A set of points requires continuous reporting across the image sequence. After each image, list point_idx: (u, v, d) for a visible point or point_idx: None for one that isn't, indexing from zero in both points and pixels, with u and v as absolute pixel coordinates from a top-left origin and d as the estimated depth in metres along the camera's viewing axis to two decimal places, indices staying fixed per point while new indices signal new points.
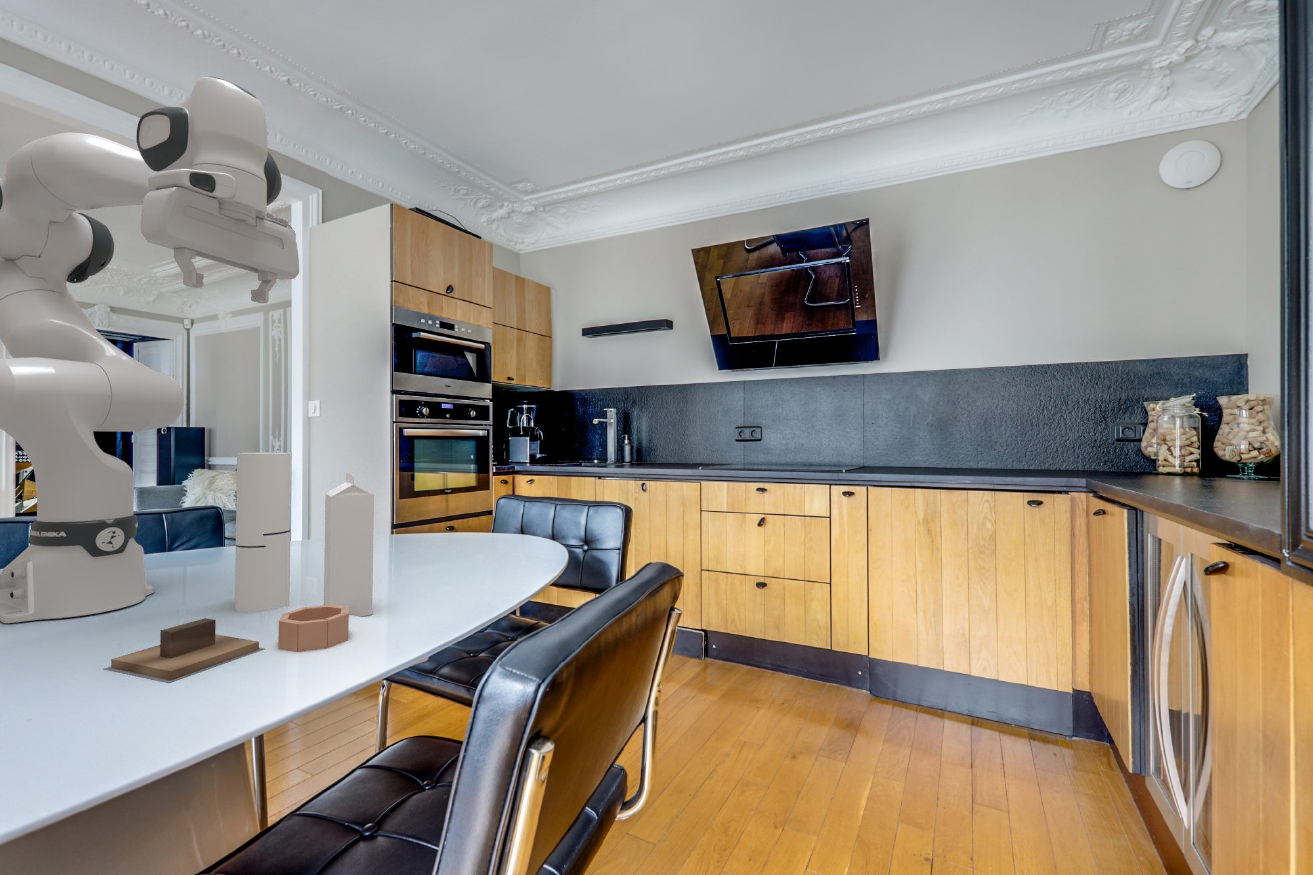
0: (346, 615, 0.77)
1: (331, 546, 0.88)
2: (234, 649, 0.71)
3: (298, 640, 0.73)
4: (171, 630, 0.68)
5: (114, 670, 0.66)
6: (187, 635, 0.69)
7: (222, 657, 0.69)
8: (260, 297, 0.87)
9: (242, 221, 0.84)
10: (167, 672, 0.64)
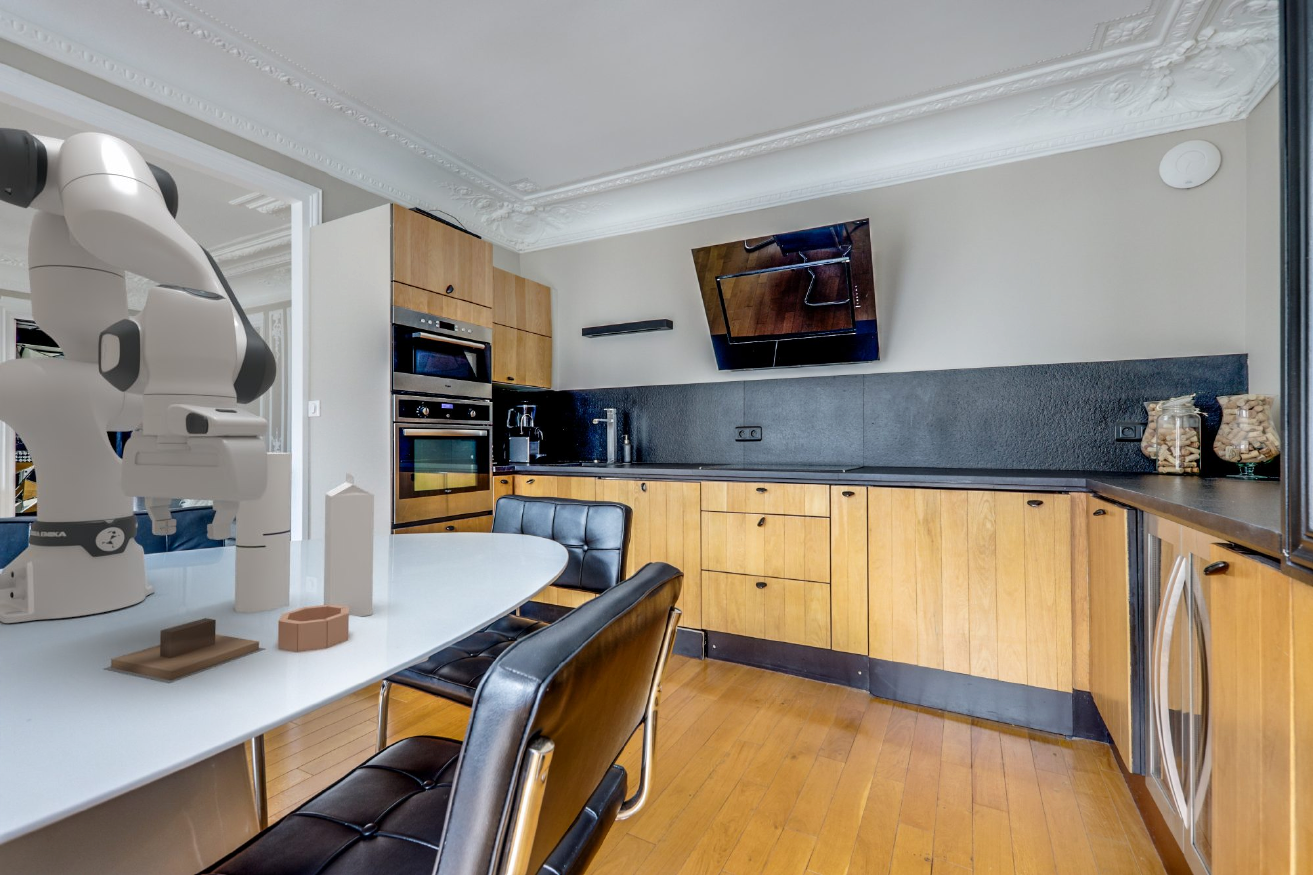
0: (346, 615, 0.77)
1: (331, 546, 0.88)
2: (234, 649, 0.71)
3: (298, 640, 0.73)
4: (171, 630, 0.68)
5: (114, 670, 0.66)
6: (187, 635, 0.69)
7: (222, 657, 0.69)
8: (175, 529, 0.72)
9: None
10: (167, 672, 0.64)
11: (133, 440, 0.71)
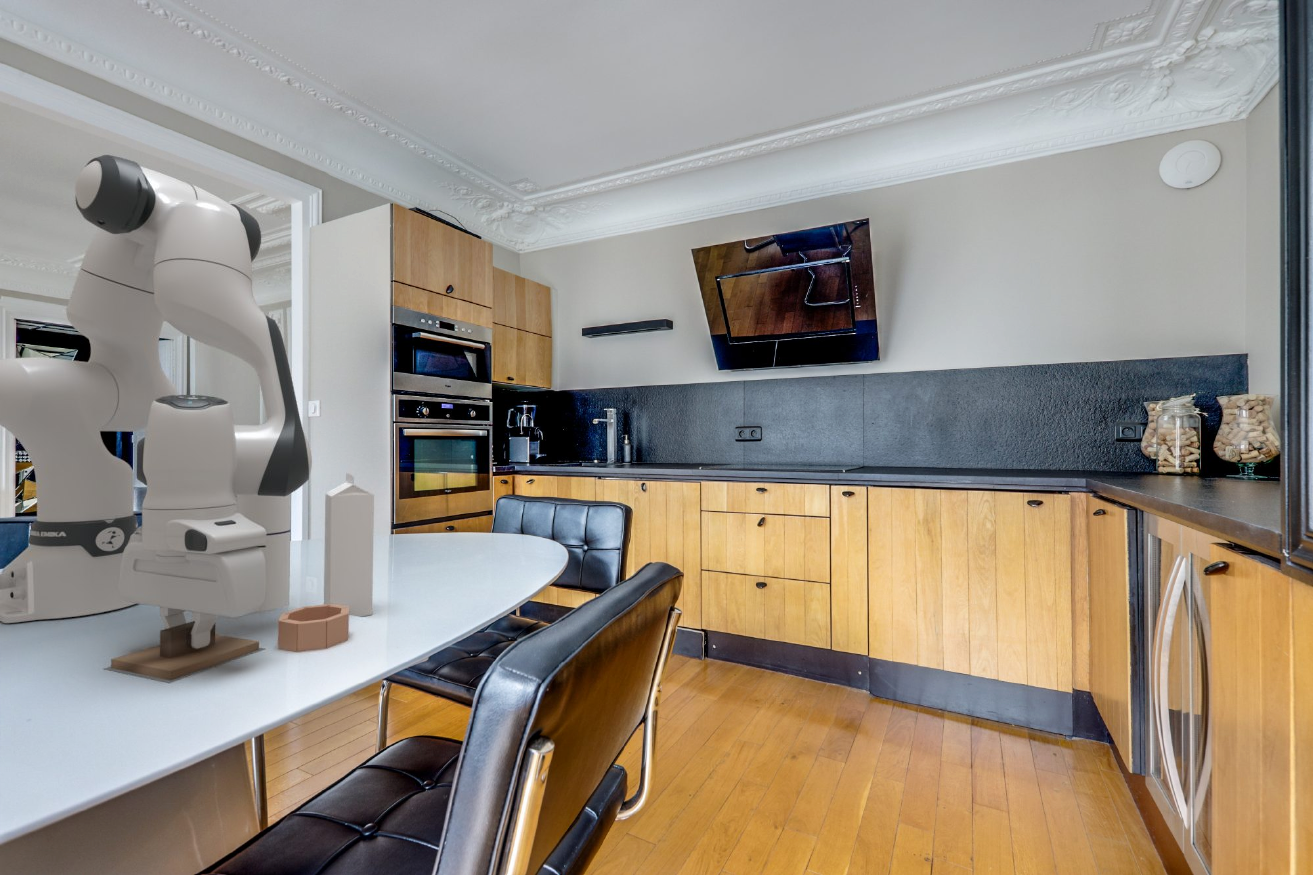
0: (346, 615, 0.77)
1: (331, 546, 0.88)
2: (234, 649, 0.71)
3: (297, 640, 0.73)
4: (171, 630, 0.68)
5: (114, 670, 0.66)
6: None
7: (222, 657, 0.69)
8: None
9: None
10: (167, 672, 0.64)
11: (132, 546, 0.71)
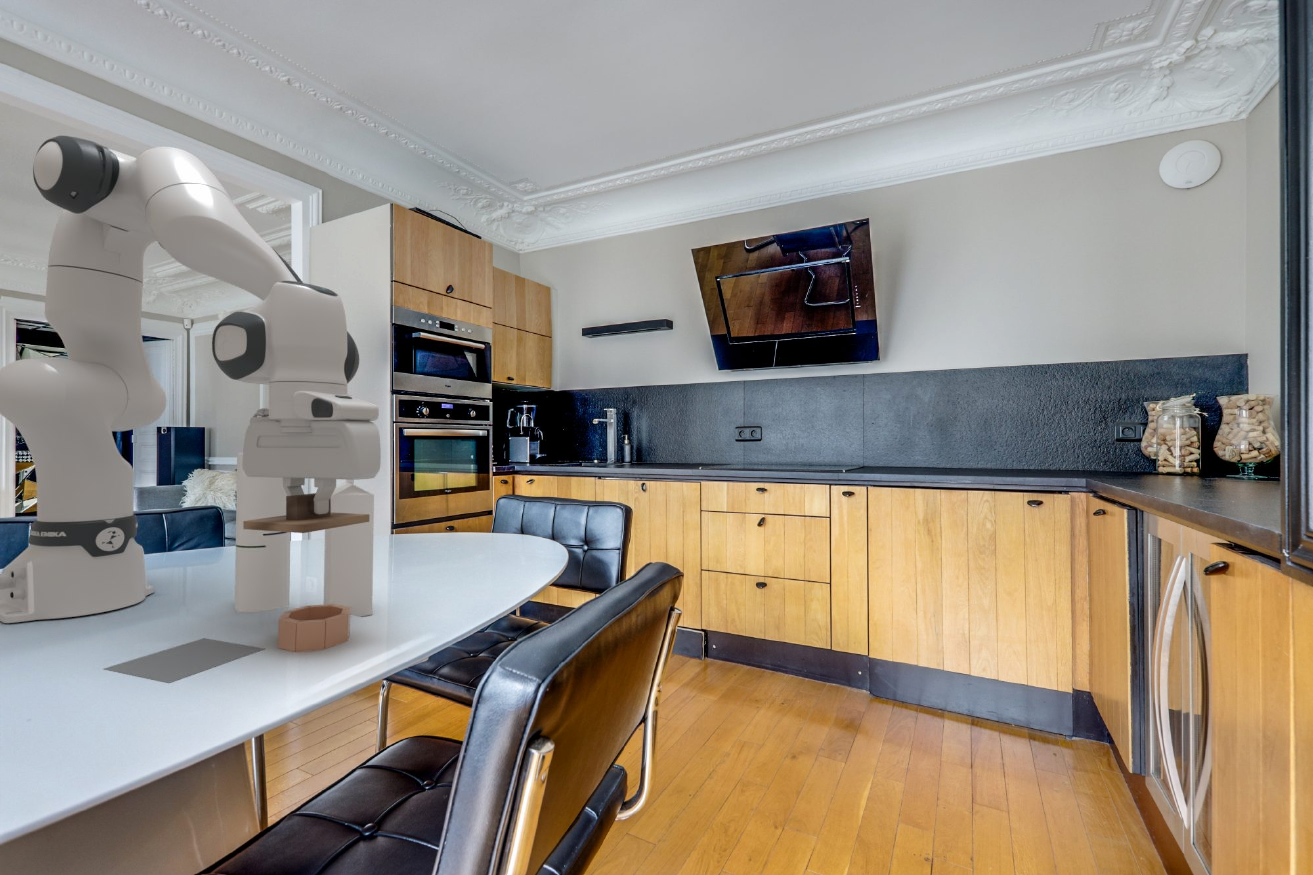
0: (346, 616, 0.77)
1: (331, 546, 0.88)
2: (351, 517, 0.77)
3: (296, 639, 0.73)
4: (296, 496, 0.74)
5: (114, 670, 0.66)
6: None
7: (341, 522, 0.75)
8: None
9: None
10: (299, 526, 0.70)
11: (255, 425, 0.77)
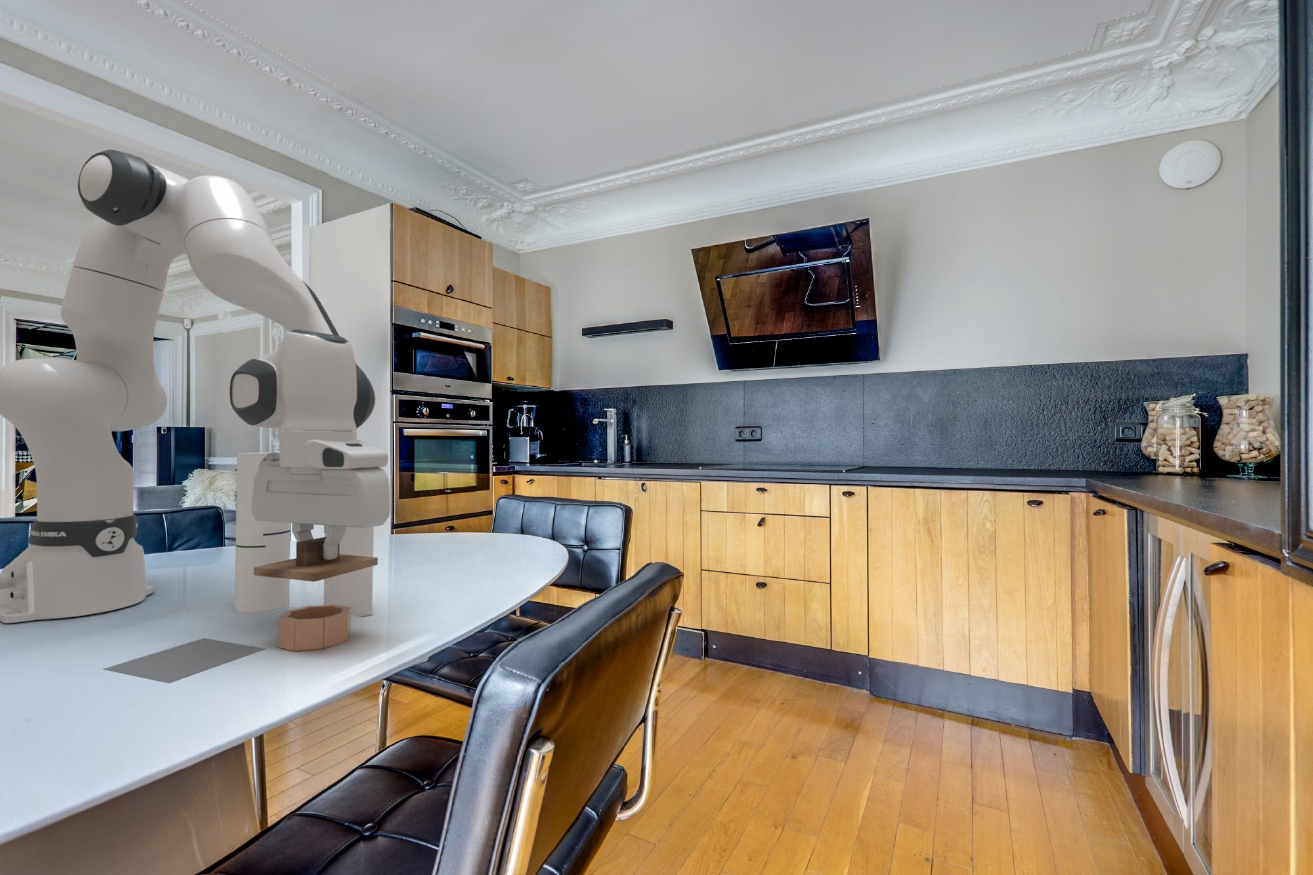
0: (345, 615, 0.77)
1: None
2: (359, 561, 0.78)
3: (295, 638, 0.73)
4: (306, 542, 0.75)
5: (114, 670, 0.66)
6: None
7: (351, 567, 0.76)
8: None
9: None
10: (310, 574, 0.71)
11: (265, 470, 0.78)
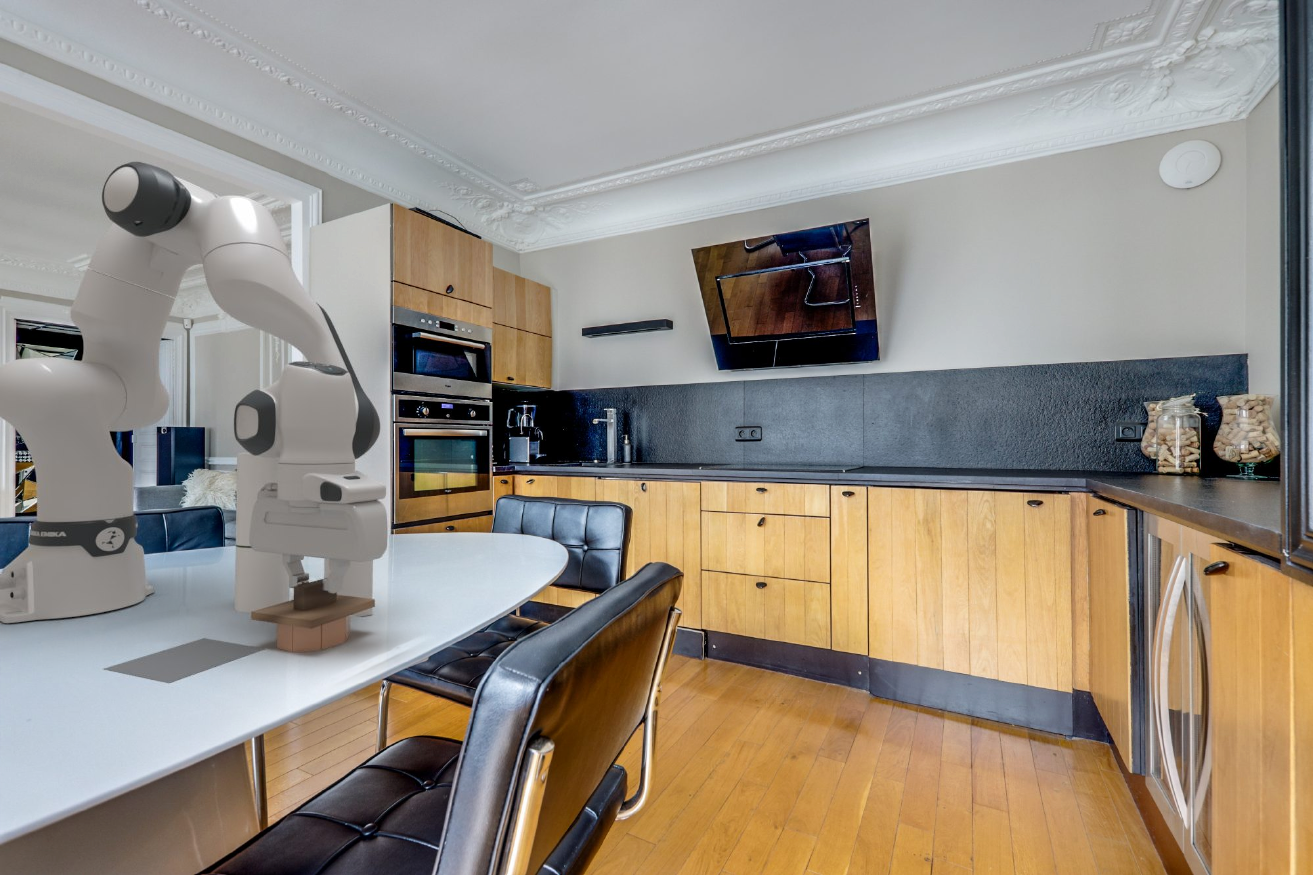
0: None
1: None
2: (357, 605, 0.78)
3: (293, 640, 0.73)
4: (303, 586, 0.75)
5: (114, 670, 0.66)
6: (316, 591, 0.76)
7: (348, 611, 0.76)
8: (308, 582, 0.79)
9: None
10: (307, 621, 0.71)
11: (263, 501, 0.78)
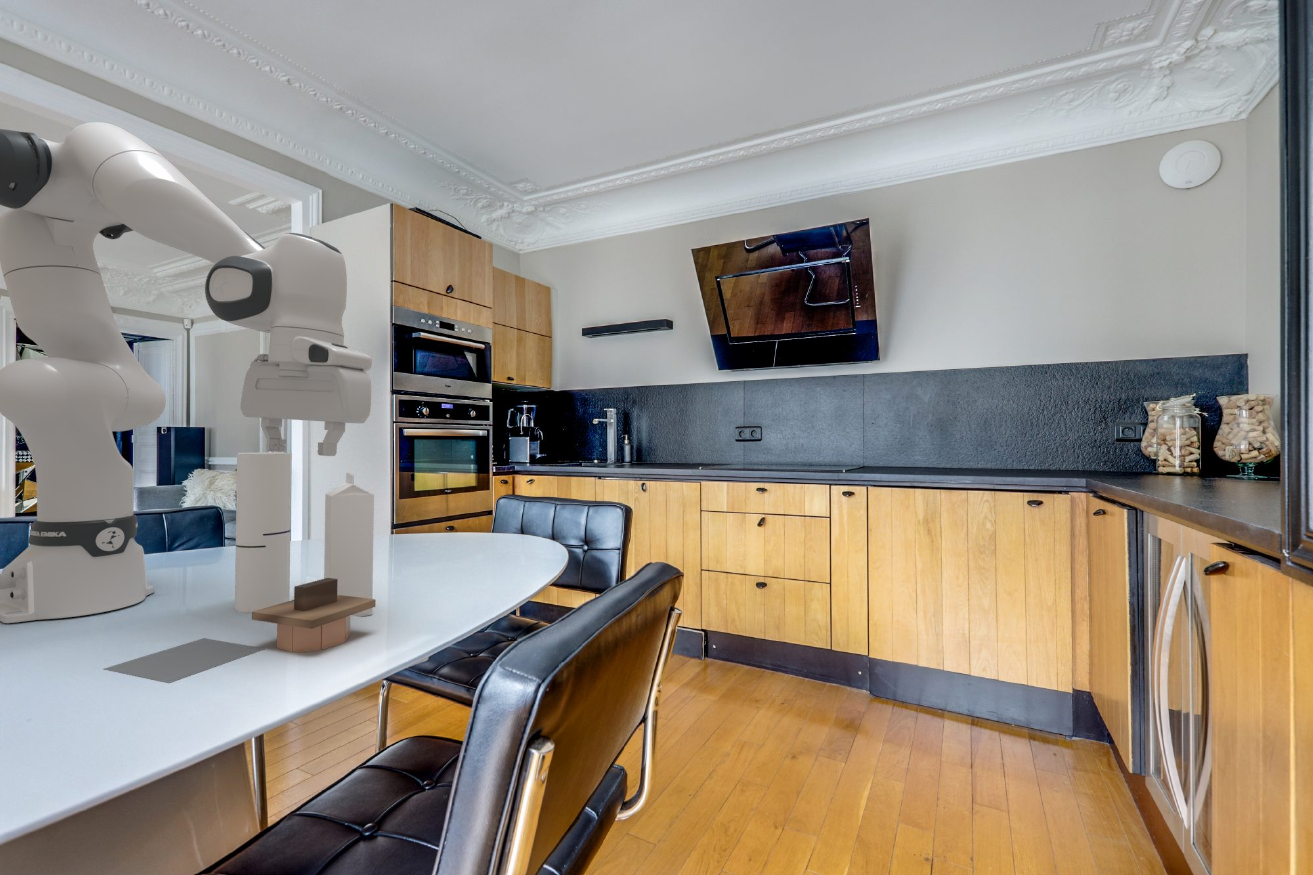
0: None
1: (331, 546, 0.88)
2: (357, 605, 0.78)
3: (293, 640, 0.73)
4: (304, 586, 0.75)
5: (114, 670, 0.66)
6: (316, 591, 0.76)
7: (348, 611, 0.76)
8: (284, 447, 0.83)
9: None
10: (308, 621, 0.71)
11: (255, 368, 0.82)
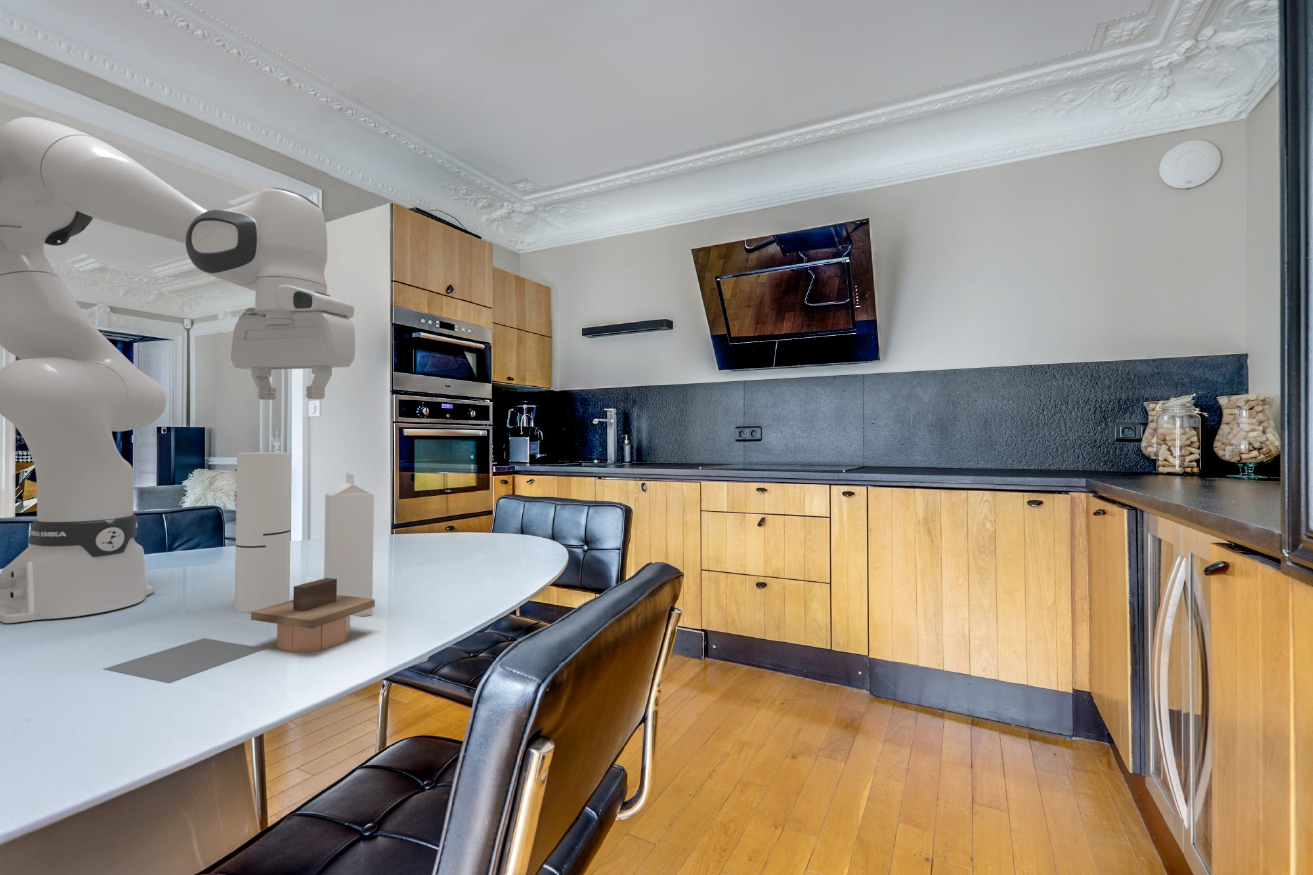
0: None
1: (331, 546, 0.88)
2: (357, 605, 0.78)
3: (293, 640, 0.73)
4: (303, 586, 0.75)
5: (114, 670, 0.66)
6: (316, 591, 0.76)
7: (348, 611, 0.76)
8: None
9: None
10: (307, 621, 0.71)
11: (243, 320, 0.86)
